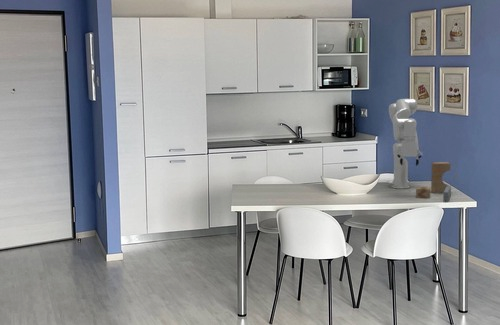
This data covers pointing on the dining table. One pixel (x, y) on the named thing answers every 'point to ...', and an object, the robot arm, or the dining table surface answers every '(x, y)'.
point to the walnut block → (423, 192)
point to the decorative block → (438, 176)
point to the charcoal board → (447, 193)
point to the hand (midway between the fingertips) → (409, 165)
